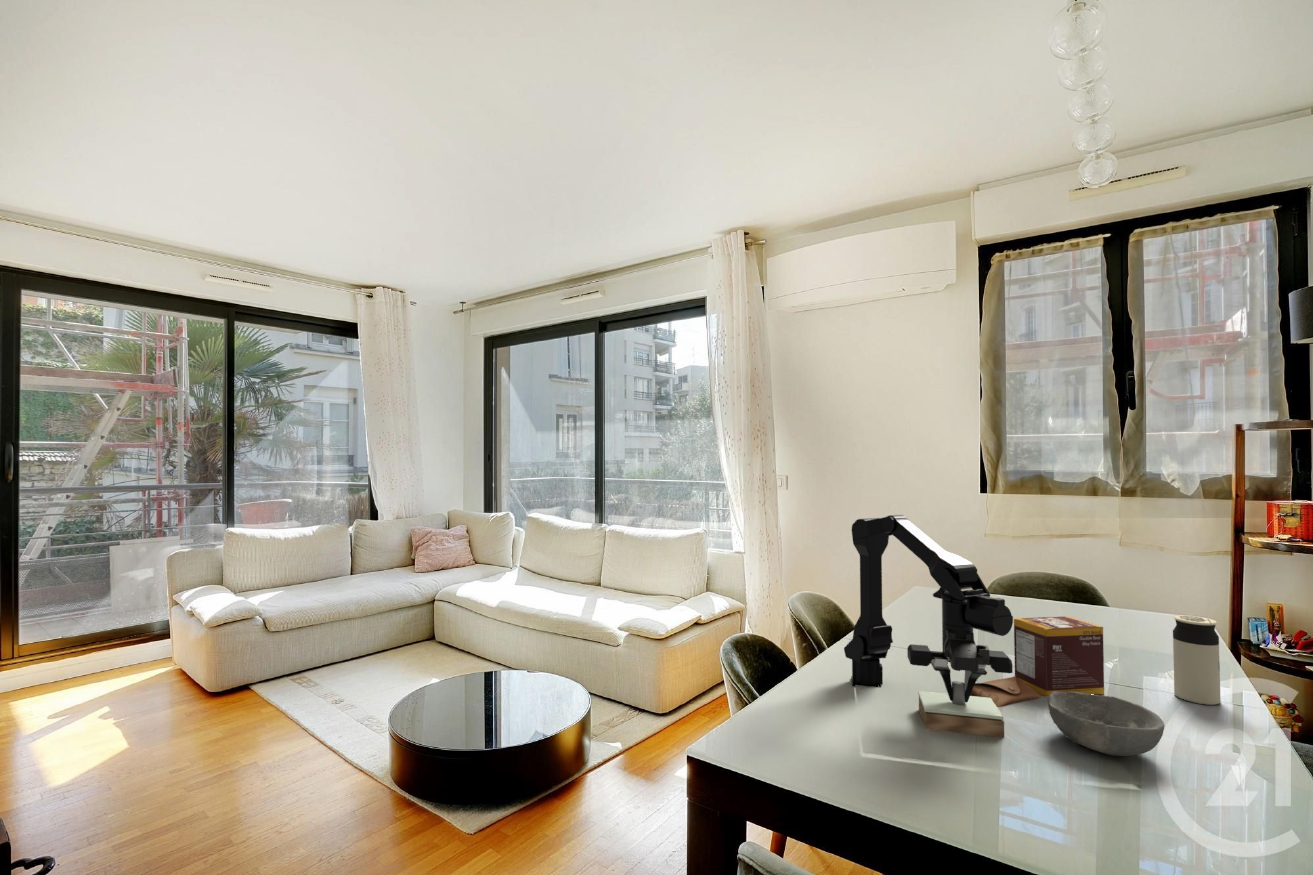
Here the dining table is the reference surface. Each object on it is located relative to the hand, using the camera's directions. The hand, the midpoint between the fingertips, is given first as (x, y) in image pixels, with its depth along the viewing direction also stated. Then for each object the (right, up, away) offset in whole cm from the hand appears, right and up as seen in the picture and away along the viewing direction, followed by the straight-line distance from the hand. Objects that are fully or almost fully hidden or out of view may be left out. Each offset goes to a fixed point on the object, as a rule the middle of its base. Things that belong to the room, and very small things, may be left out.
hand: (958, 700), depth 128 cm
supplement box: (+34, -6, +21) cm, 41 cm away
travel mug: (+61, -6, +15) cm, 63 cm away
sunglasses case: (+18, -6, +14) cm, 24 cm away
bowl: (+22, -5, -11) cm, 25 cm away
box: (0, -5, 0) cm, 5 cm away
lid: (0, -1, 0) cm, 1 cm away
